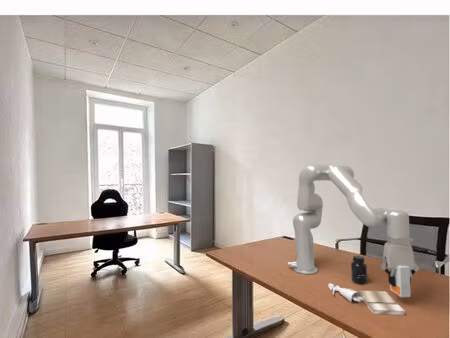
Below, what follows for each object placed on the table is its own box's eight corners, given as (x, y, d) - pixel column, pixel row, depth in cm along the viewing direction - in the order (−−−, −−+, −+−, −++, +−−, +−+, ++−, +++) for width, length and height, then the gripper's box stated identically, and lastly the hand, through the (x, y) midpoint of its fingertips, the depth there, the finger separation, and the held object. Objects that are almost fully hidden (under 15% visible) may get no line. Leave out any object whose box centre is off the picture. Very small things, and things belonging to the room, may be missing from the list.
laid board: (373, 313, 92) (373, 309, 92) (367, 306, 97) (367, 302, 97) (405, 315, 90) (405, 310, 90) (397, 307, 95) (397, 303, 95)
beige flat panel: (366, 305, 98) (366, 301, 98) (358, 293, 106) (358, 290, 105) (396, 306, 96) (396, 302, 96) (385, 294, 104) (385, 291, 104)
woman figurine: (350, 297, 96) (318, 282, 113) (351, 309, 96) (319, 292, 112) (372, 291, 100) (338, 278, 117) (373, 302, 100) (339, 287, 116)
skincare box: (389, 290, 102) (388, 261, 103) (399, 289, 103) (398, 261, 103) (401, 297, 96) (400, 267, 96) (411, 297, 97) (410, 266, 97)
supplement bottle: (361, 286, 114) (360, 260, 115) (348, 280, 120) (347, 256, 121) (370, 282, 117) (369, 257, 118) (357, 277, 124) (356, 254, 124)
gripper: (415, 238, 102) (416, 282, 102) (371, 238, 105) (373, 280, 104) (427, 243, 95) (429, 290, 95) (380, 243, 97) (382, 288, 97)
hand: (399, 284), depth 100 cm, fingers closed on skincare box, 5 cm apart
